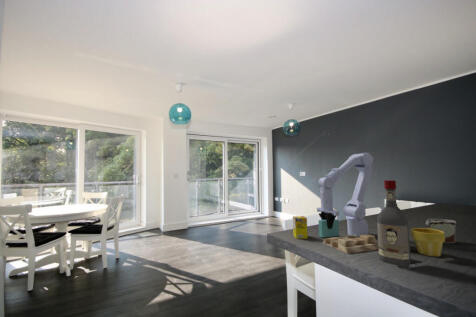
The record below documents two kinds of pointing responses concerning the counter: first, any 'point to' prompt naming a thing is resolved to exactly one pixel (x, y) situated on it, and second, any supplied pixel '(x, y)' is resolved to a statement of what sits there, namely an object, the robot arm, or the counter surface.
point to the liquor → (393, 230)
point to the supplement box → (300, 227)
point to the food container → (443, 228)
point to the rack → (354, 249)
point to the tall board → (328, 232)
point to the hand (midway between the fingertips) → (327, 227)
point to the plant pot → (428, 240)
